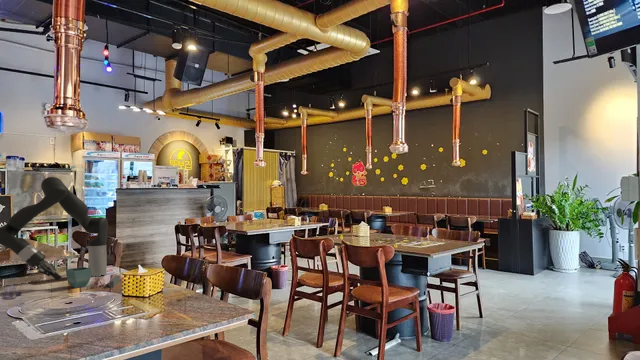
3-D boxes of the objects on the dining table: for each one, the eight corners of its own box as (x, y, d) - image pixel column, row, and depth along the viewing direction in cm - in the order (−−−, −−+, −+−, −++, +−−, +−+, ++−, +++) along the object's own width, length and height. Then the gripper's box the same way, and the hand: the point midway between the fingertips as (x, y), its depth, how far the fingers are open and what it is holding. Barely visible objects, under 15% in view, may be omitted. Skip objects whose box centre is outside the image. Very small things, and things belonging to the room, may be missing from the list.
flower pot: (92, 285, 209) (92, 268, 210) (74, 289, 202) (74, 271, 202) (83, 284, 214) (83, 266, 214) (65, 287, 206) (65, 269, 207)
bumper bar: (109, 287, 204) (109, 281, 205) (115, 281, 220) (115, 275, 220) (113, 287, 205) (113, 281, 205) (119, 280, 220) (119, 275, 220)
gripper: (30, 259, 208) (58, 282, 211) (19, 263, 195) (49, 287, 198) (42, 248, 210) (70, 271, 213) (32, 252, 197) (61, 275, 200)
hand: (59, 279), depth 206 cm, fingers closed
